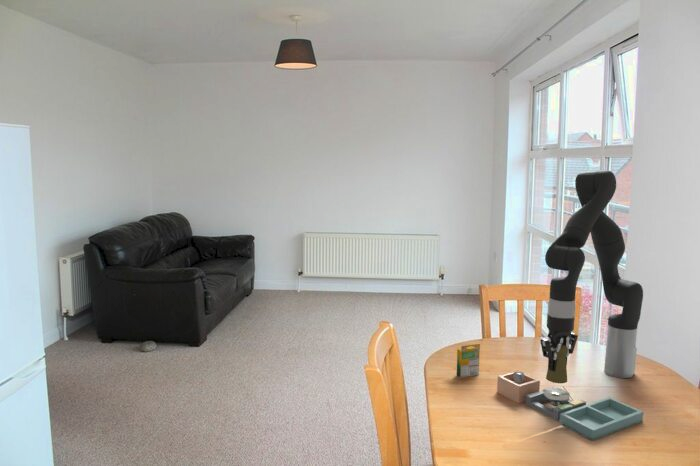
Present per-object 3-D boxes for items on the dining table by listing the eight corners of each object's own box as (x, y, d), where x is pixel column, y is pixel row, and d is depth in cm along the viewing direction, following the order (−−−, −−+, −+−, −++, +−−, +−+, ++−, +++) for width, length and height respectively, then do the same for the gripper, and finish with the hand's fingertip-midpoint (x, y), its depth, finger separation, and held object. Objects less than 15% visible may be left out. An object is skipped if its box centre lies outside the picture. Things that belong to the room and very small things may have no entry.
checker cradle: (552, 397, 175) (553, 386, 174) (585, 413, 165) (586, 401, 164) (525, 405, 169) (526, 394, 169) (557, 422, 159) (558, 410, 158)
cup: (517, 388, 182) (518, 370, 181) (538, 398, 174) (539, 380, 173) (496, 393, 177) (497, 375, 176) (518, 405, 170) (519, 386, 169)
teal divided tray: (608, 406, 169) (609, 396, 169) (642, 421, 160) (643, 411, 159) (559, 423, 158) (559, 413, 158) (592, 440, 149) (593, 430, 148)
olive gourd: (569, 384, 162) (571, 348, 161) (547, 382, 163) (549, 346, 162) (565, 376, 168) (568, 341, 166) (544, 374, 169) (546, 339, 168)
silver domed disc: (553, 396, 172) (554, 385, 171) (574, 406, 165) (575, 394, 165) (536, 402, 168) (537, 390, 167) (557, 412, 162) (557, 400, 161)
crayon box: (474, 373, 194) (475, 341, 192) (479, 376, 191) (480, 343, 189) (456, 375, 192) (457, 343, 190) (460, 378, 189) (461, 346, 187)
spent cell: (517, 391, 178) (518, 370, 177) (525, 395, 175) (526, 374, 174) (510, 393, 176) (511, 372, 175) (517, 397, 173) (519, 376, 172)
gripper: (566, 307, 169) (562, 361, 172) (534, 313, 162) (530, 369, 165) (588, 313, 163) (583, 369, 165) (554, 320, 156) (550, 378, 158)
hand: (557, 369), depth 165 cm, fingers closed on olive gourd, 4 cm apart
